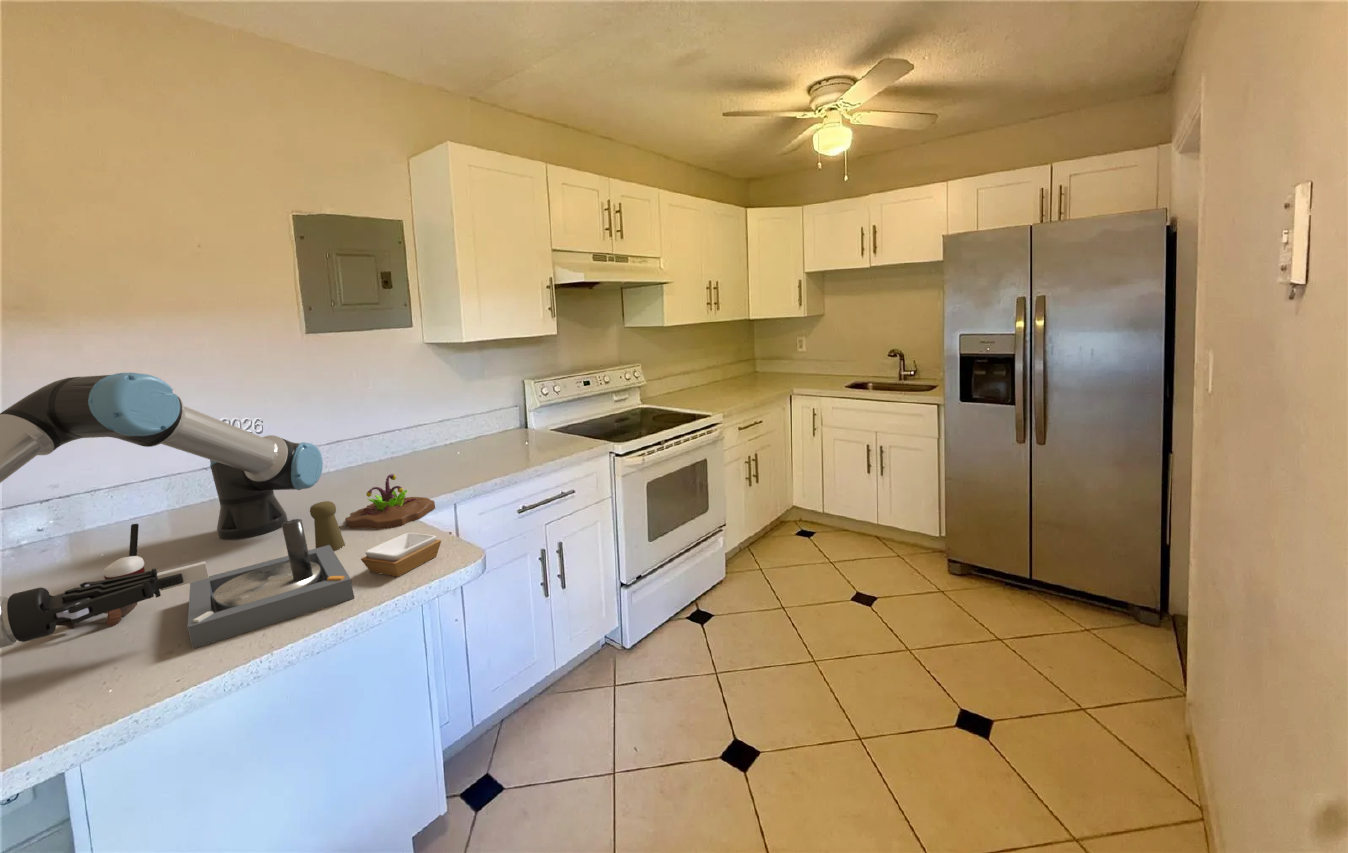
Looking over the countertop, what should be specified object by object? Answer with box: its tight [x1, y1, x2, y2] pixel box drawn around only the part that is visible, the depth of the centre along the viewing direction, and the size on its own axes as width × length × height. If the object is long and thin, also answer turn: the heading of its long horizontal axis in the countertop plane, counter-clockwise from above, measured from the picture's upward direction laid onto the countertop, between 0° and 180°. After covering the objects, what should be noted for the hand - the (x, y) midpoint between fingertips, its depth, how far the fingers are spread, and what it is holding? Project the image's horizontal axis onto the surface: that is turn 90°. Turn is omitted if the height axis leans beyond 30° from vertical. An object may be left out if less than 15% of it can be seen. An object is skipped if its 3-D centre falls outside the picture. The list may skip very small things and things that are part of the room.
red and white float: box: [102, 523, 146, 580], centre depth 126 cm, size 10×6×12 cm, turn 156°
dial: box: [213, 518, 322, 611], centre depth 114 cm, size 17×17×13 cm
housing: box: [187, 545, 355, 650], centre depth 115 cm, size 24×24×4 cm
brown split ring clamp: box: [56, 602, 138, 630], centre depth 110 cm, size 12×10×8 cm
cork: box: [309, 500, 346, 552], centre depth 139 cm, size 6×6×11 cm
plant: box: [344, 473, 436, 530], centre depth 160 cm, size 20×20×11 cm
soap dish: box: [360, 532, 442, 577], centre depth 127 cm, size 12×10×5 cm
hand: (207, 569), depth 105 cm, fingers closed
